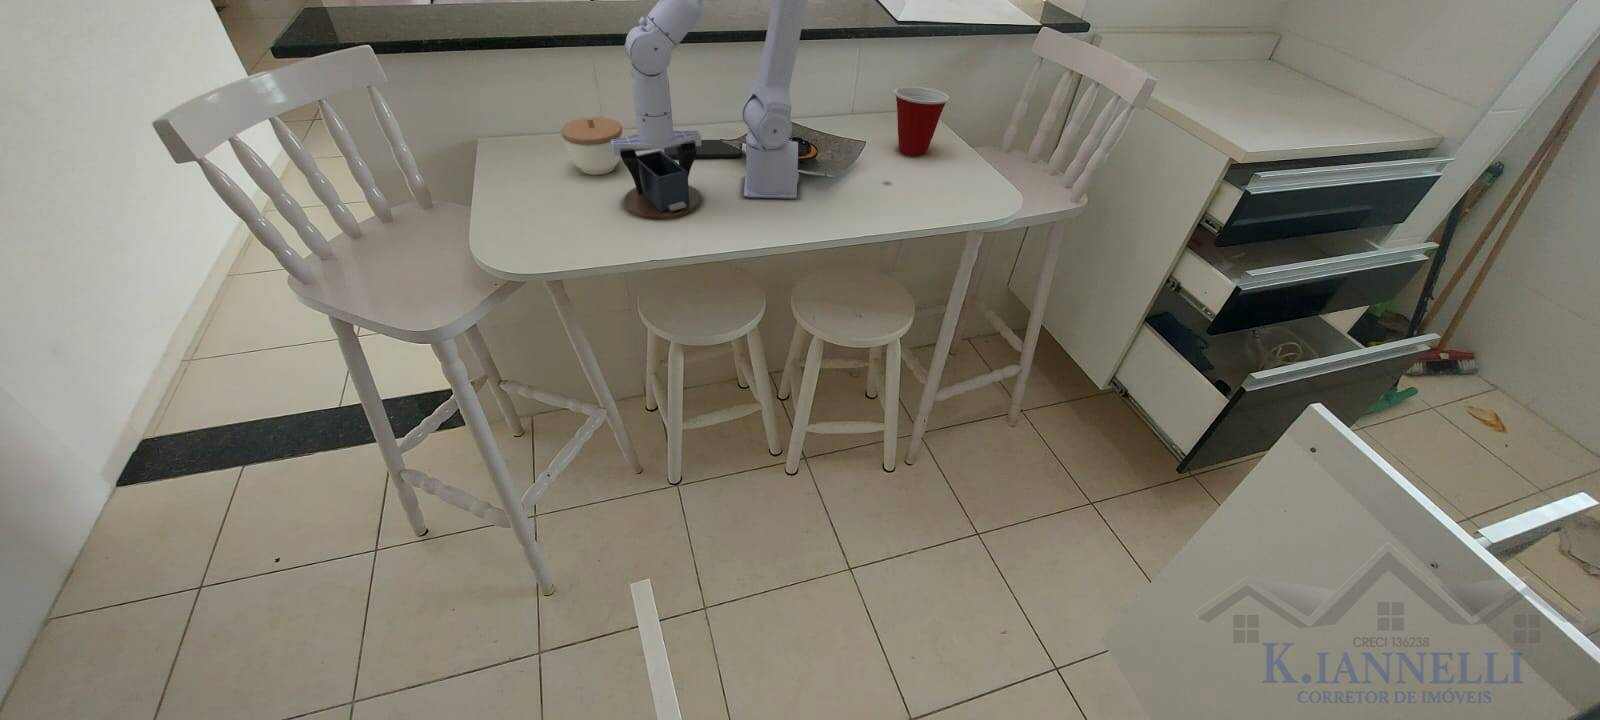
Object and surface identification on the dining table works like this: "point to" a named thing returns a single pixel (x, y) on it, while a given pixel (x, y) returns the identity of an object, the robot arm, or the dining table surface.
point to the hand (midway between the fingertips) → (661, 189)
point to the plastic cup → (917, 118)
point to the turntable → (647, 210)
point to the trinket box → (592, 143)
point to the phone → (709, 150)
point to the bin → (663, 181)
